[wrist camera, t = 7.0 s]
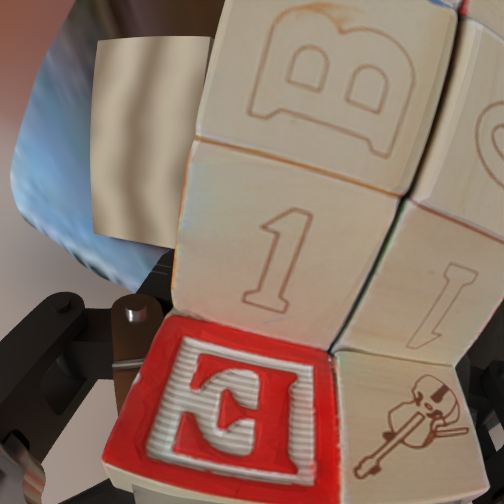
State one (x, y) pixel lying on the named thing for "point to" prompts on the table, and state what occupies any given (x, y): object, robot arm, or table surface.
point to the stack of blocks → (329, 261)
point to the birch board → (144, 133)
